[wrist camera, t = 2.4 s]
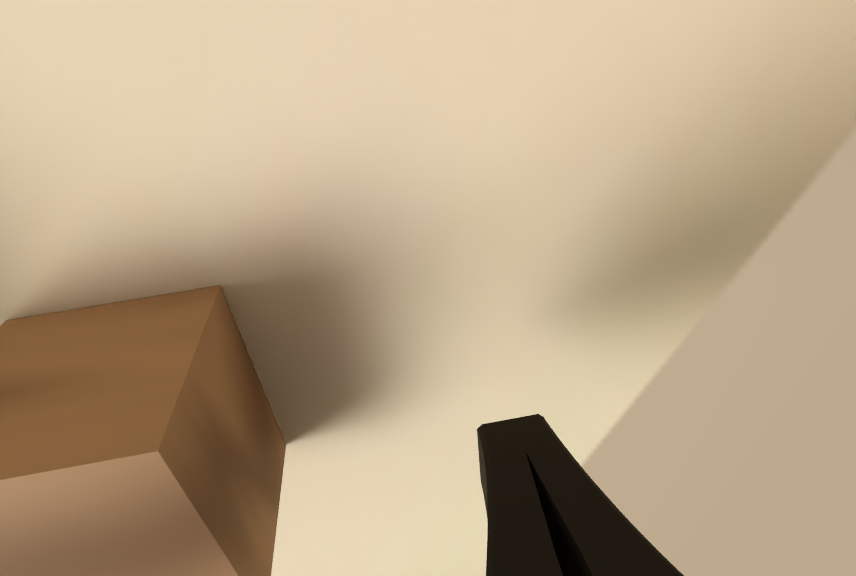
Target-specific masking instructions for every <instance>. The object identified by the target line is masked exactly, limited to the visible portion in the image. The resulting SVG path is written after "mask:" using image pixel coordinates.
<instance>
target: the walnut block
mask: <svg viewBox="0 0 856 576" xmlns="http://www.w3.org/2000/svg"><path fill="white" fill-rule="evenodd" d="M285 449H286V443H285V441H284V439H283V436H282V434H281V431H280V429H279V427H278V424H277V422H276V419H275V417H274V414H273V412H272V410H271V407H270V405H269V402H268V400H267V397H266V395H265V393H264V390H263V388H262V385H261V383H260V380H259V378H258V376H257V373H256V371H255V368H254V366H253V364H252V361H251V359H250V356H249V354H248V351H247V349H246V347H245V344H244V342H243V339H242V337H241V334H240V332H239V330H238V327H237V325H236V322H235V320H234V318H233V315H232V313H231V310H230V308H229V305H228V303H227V301H226V298H225V296H224V293H223V291H222V288H221V286H220V285H218V286H212V287H206V288H200V289H194V290H188V291H182V292H176V293H170V294H164V295H158V296H152V297H146V298H139V299H133V300H127V301H121V302H115V303H109V304H103V305H97V306H91V307H85V308H79V309H73V310H67V311H61V312H55V313H48V314H42V315H36V316H30V317H24V318H18V319H12V320H6V321H5V322H4V323H3V324H2V325H1V326H0V576H271V569H272V561H273V552H274V543H275V535H276V526H277V518H278V509H279V500H280V492H281V483H282V474H283V466H284V457H285Z"/></svg>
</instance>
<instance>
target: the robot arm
mask: <svg viewBox="0 0 856 576" xmlns="http://www.w3.org/2000/svg"><path fill="white" fill-rule="evenodd" d="M477 434H478V448H479V462H480V475H481V483H482V488H483V493H484V499H485V505H486V511H487V518H488V540H487V566H486V576H684V575H683V574H681V573H680V572H679V571H678V570H677V569H676V568H675V567H674V566H673V565H672V564H671V563H670V562H669V561H668V560H667V559H666V558H665V557H664V556H663V555H662V554H661V553H660V552H659V551H658V550H657V549H656V548H655V547H654V546H653V545H652V544H651V543H650V542H649V541H648V540H647V539H646V538H645V537H644V536H643V535H642V534H641V533H640V532H639V531H638V530H637V529H636V528H635V527H634V526H633V525H632V524H631V523H630V521H629V520H628V519H627V518H626V517H625V516H624V515H623V514H622V513H621V512H620V511H619V510H618V508H616V506H615V505H614V504H613V503H612V502H611V501H610V499H609V498H608V497H607V496H606V495H605V494H604V493H603V492H602V491H601V489H600V488H599V487H598V486H597V485H596V484H595V483H594V482H593V480H592V479H591V478H590V477H589V476H588V474H587V473H586V472H585V471H584V470H583V468H582V467H581V466H580V465H579V463H578V462H577V461H576V460H575V459H574V457H573V456H572V455H571V454H570V452H569V451H568V450H567V448H566V447H565V446H564V445H563V443H562V442H561V441H560V439H559V438H558V437H557V435H556V434H555V433H554V431H553V430H552V429H551V427H550V426H549V424H548V423H547V422H546V420H545V419H544V417H543V416H541V415H539V414H536V415H530V416H525V417H520V418H514V419H509V420H503V421H498V422H493V423H487V424H482V425H481V426H480V427H479V428H478V429H477Z"/></svg>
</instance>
